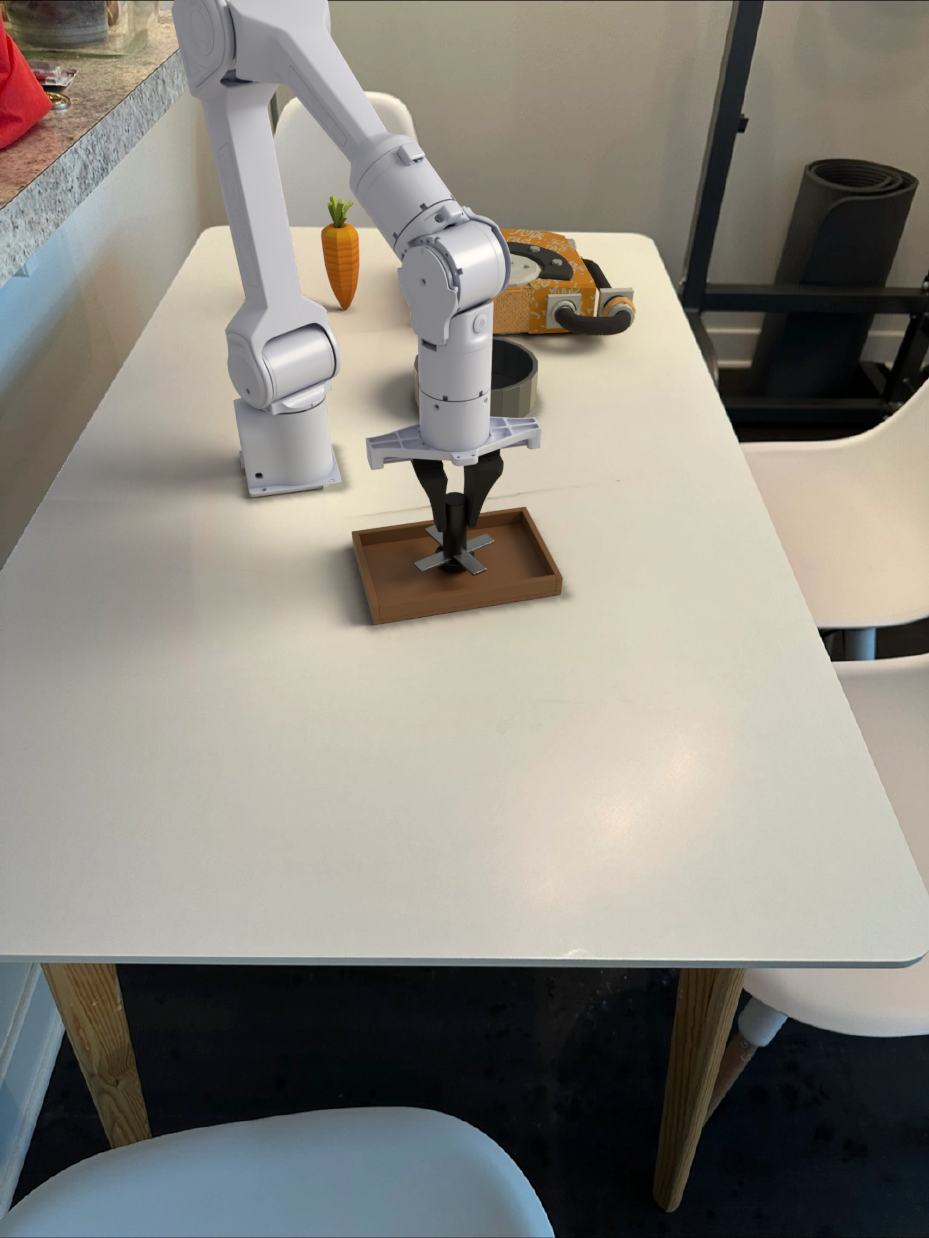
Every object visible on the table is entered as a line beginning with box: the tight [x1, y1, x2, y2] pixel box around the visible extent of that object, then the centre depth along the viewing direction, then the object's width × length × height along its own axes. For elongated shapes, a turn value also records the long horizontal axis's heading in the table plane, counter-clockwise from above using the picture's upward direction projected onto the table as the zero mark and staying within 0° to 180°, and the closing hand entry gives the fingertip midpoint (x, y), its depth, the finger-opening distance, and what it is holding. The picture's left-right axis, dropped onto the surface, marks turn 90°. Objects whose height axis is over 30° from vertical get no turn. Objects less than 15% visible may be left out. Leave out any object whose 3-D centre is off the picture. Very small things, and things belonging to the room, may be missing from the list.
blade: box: [414, 491, 495, 576], centre depth 82 cm, size 8×8×7 cm
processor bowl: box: [413, 336, 539, 418], centre depth 107 cm, size 14×14×5 cm
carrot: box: [320, 195, 360, 311], centre depth 122 cm, size 5×5×15 cm
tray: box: [351, 506, 564, 625], centre depth 84 cm, size 17×11×2 cm, turn 104°
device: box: [488, 228, 637, 337], centre depth 124 cm, size 23×8×30 cm
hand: (454, 523), depth 81 cm, fingers closed on blade, 2 cm apart
